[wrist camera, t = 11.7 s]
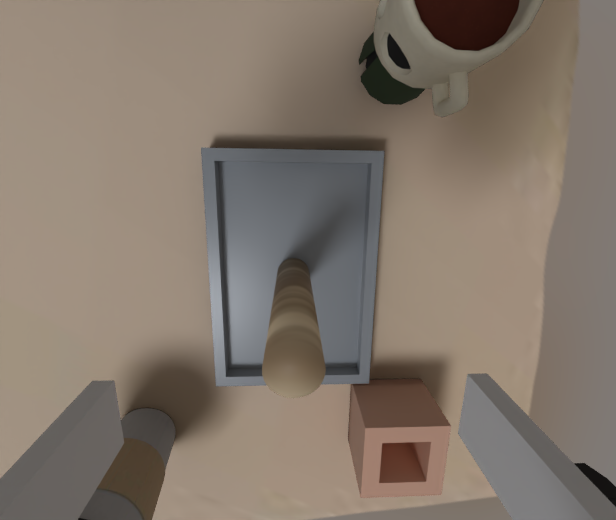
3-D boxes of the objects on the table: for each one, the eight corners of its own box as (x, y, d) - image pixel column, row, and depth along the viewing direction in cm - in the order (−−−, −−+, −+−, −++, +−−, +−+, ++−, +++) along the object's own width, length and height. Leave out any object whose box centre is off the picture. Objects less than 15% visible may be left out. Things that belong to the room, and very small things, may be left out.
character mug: (343, 0, 27) (390, -158, 14) (430, -15, 27) (554, -185, 14) (360, 140, 29) (412, 113, 17) (439, 127, 29) (549, 90, 17)
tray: (208, 150, 29) (201, 147, 27) (377, 152, 30) (384, 150, 27) (221, 372, 34) (216, 386, 32) (363, 369, 35) (368, 383, 33)
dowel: (277, 258, 31) (261, 341, 15) (309, 258, 31) (326, 341, 15) (277, 288, 31) (262, 398, 16) (309, 288, 31) (324, 397, 16)
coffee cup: (86, 413, 35) (-61, 583, 20) (166, 379, 34) (73, 528, 20) (134, 478, 37) (33, 672, 23) (209, 446, 37) (155, 624, 22)
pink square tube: (351, 379, 35) (365, 428, 29) (420, 378, 36) (451, 426, 29) (348, 439, 37) (360, 497, 30) (414, 437, 38) (441, 494, 31)
